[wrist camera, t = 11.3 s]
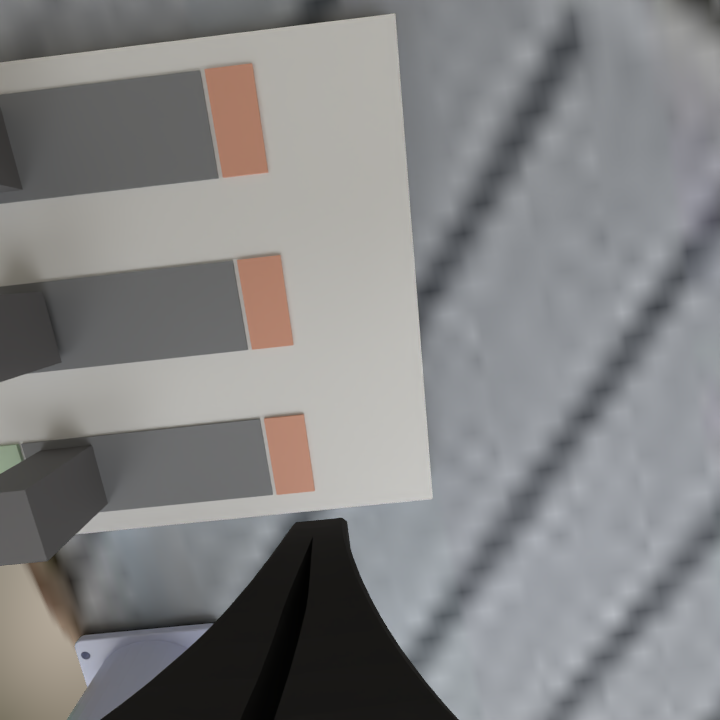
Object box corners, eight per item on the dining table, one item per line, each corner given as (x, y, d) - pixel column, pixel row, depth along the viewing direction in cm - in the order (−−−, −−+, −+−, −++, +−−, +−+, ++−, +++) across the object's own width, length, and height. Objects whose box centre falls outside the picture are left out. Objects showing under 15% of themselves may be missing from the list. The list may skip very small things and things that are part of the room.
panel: (427, 482, 21) (451, 556, 16) (-68, 532, 22) (-208, 620, 16) (391, 35, 17) (407, -74, 11) (-229, 111, 17) (-493, 42, 12)
